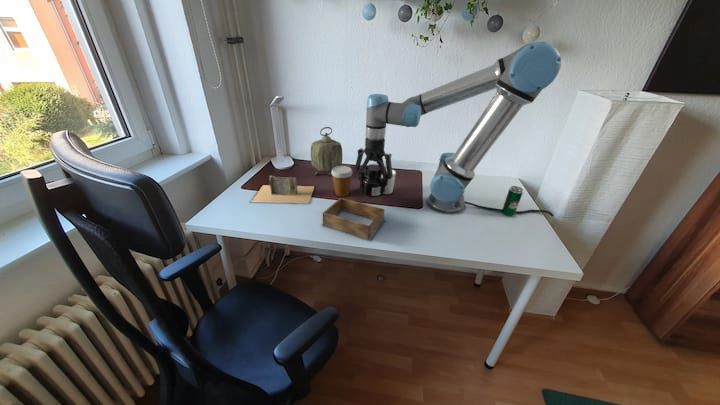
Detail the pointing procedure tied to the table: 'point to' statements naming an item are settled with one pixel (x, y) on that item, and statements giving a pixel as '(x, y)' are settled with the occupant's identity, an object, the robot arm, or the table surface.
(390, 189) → the white cup
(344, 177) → the disposable coffee cup
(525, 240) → the table surface
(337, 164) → the tabletop clock
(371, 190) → the ink bottle
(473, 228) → the table surface
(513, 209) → the soda can
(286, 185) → the architectural model on board
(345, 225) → the wooden box
